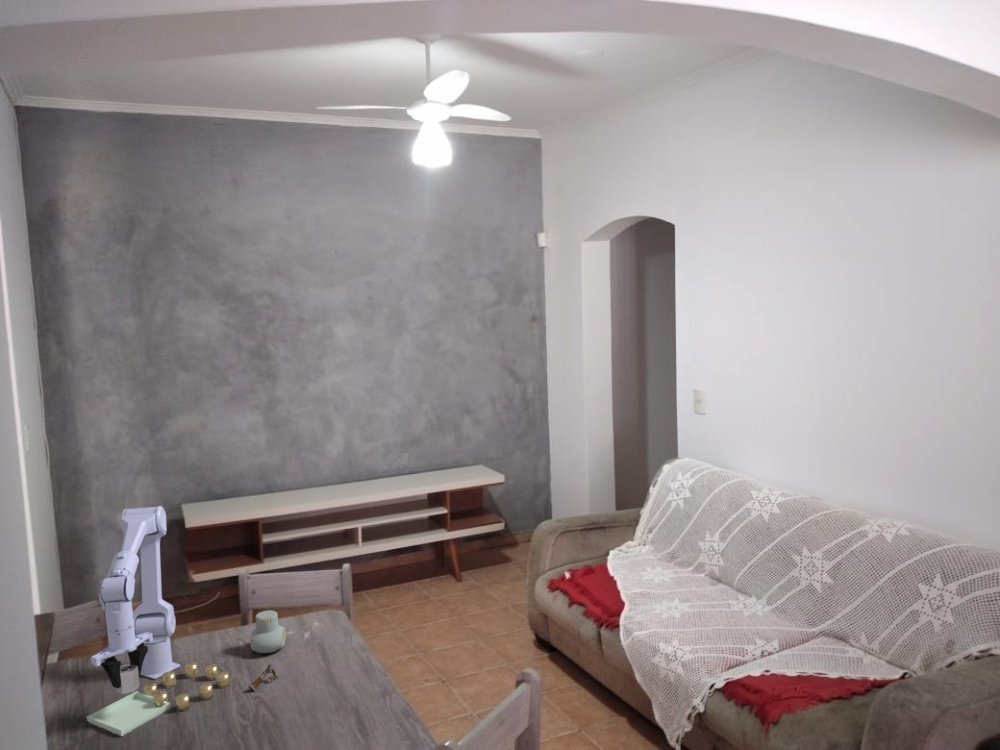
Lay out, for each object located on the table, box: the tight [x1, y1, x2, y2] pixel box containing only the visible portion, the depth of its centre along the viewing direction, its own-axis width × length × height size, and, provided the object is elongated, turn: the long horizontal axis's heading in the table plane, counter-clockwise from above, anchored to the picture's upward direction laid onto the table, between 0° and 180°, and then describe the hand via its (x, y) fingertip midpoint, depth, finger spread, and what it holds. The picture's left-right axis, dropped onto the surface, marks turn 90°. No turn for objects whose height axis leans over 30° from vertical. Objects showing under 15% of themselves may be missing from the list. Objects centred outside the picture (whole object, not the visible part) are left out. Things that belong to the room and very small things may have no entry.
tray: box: [86, 690, 172, 737], centre depth 188 cm, size 13×13×2 cm
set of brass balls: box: [143, 661, 231, 713], centre depth 198 cm, size 17×18×3 cm
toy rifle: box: [247, 662, 279, 692], centre depth 200 cm, size 2×8×4 cm, turn 142°
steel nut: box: [114, 662, 140, 695], centre depth 187 cm, size 5×4×5 cm
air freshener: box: [249, 609, 287, 654], centre depth 220 cm, size 11×8×10 cm
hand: (126, 681), depth 187 cm, fingers closed on steel nut, 4 cm apart
